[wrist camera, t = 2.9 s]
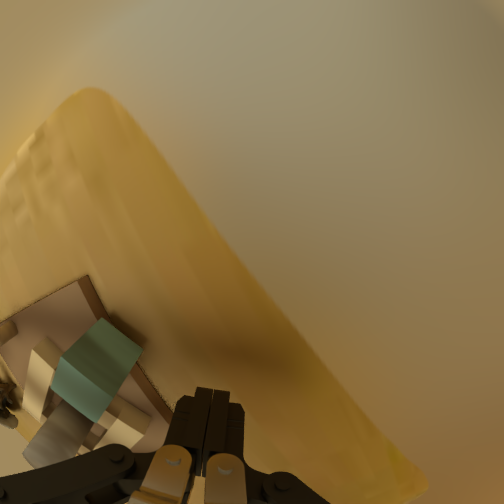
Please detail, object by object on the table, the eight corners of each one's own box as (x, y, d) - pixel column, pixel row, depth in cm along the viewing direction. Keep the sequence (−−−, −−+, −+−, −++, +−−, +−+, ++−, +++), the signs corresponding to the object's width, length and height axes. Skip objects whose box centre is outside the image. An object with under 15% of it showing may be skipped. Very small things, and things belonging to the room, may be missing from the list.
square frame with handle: (113, 456, 17) (97, 491, 12) (32, 396, 16) (7, 423, 11) (187, 378, 14) (170, 433, 10) (65, 284, 13) (17, 312, 9)
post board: (210, 457, 18) (199, 538, 10) (96, 460, 19) (71, 514, 11) (87, 275, 14) (-8, 334, 6) (-4, 325, 16) (-61, 365, 7)
